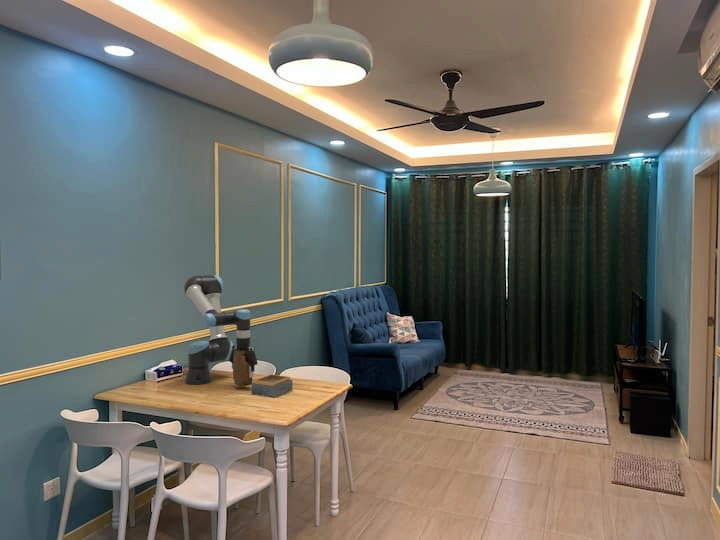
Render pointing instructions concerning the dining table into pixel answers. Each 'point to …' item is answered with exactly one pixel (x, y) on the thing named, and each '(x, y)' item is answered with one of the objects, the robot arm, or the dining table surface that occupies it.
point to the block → (241, 368)
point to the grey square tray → (271, 385)
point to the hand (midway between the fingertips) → (243, 375)
